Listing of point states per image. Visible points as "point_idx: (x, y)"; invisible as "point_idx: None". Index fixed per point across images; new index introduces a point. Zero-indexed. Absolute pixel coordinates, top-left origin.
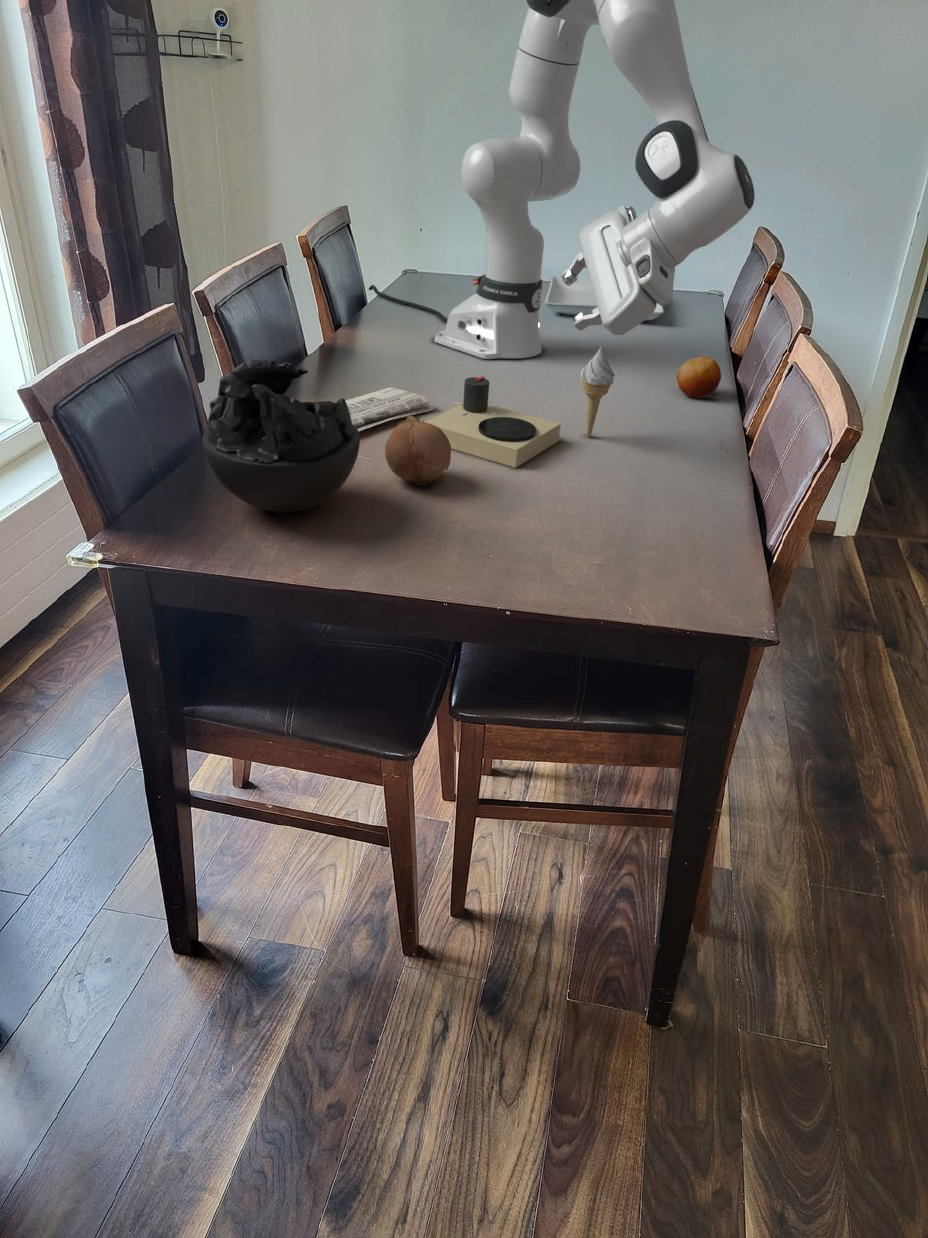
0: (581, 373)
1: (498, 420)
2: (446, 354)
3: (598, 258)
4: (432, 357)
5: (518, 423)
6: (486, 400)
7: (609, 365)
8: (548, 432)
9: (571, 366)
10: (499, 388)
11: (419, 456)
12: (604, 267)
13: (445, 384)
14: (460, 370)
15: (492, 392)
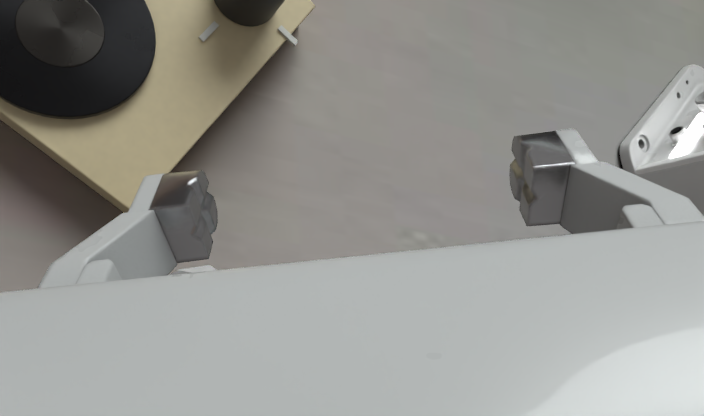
0: (197, 268)
1: (122, 18)
2: (633, 74)
3: (523, 337)
4: (616, 40)
5: (97, 71)
6: (231, 2)
7: None
8: (66, 162)
9: None
10: (473, 141)
11: None
12: (365, 382)
13: (483, 24)
14: (560, 79)
15: (449, 119)
